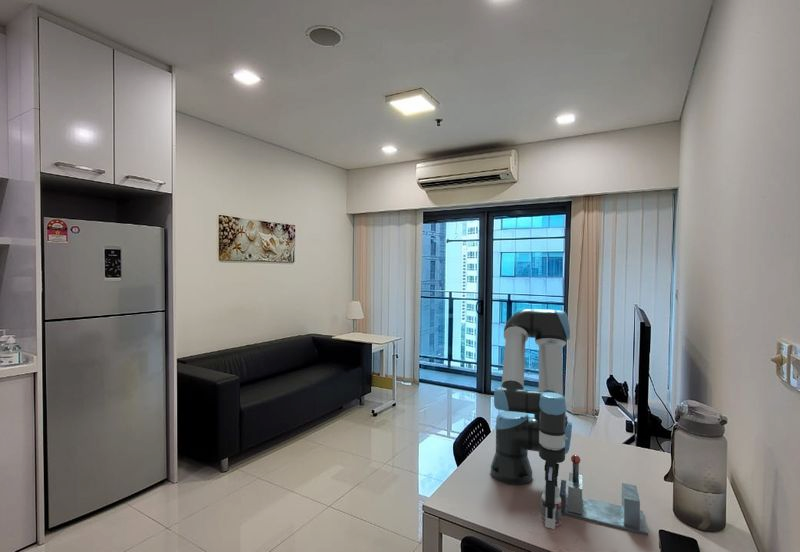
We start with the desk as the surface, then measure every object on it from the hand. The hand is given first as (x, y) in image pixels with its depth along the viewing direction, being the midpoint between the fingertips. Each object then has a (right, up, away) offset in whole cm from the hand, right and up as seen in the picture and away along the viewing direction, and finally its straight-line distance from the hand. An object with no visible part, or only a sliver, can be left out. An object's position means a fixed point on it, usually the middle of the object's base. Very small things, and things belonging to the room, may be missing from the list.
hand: (551, 520), depth 123 cm
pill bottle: (0, 0, 0) cm, 0 cm away
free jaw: (+11, +1, +7) cm, 13 cm away
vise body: (+17, 0, +4) cm, 18 cm away
